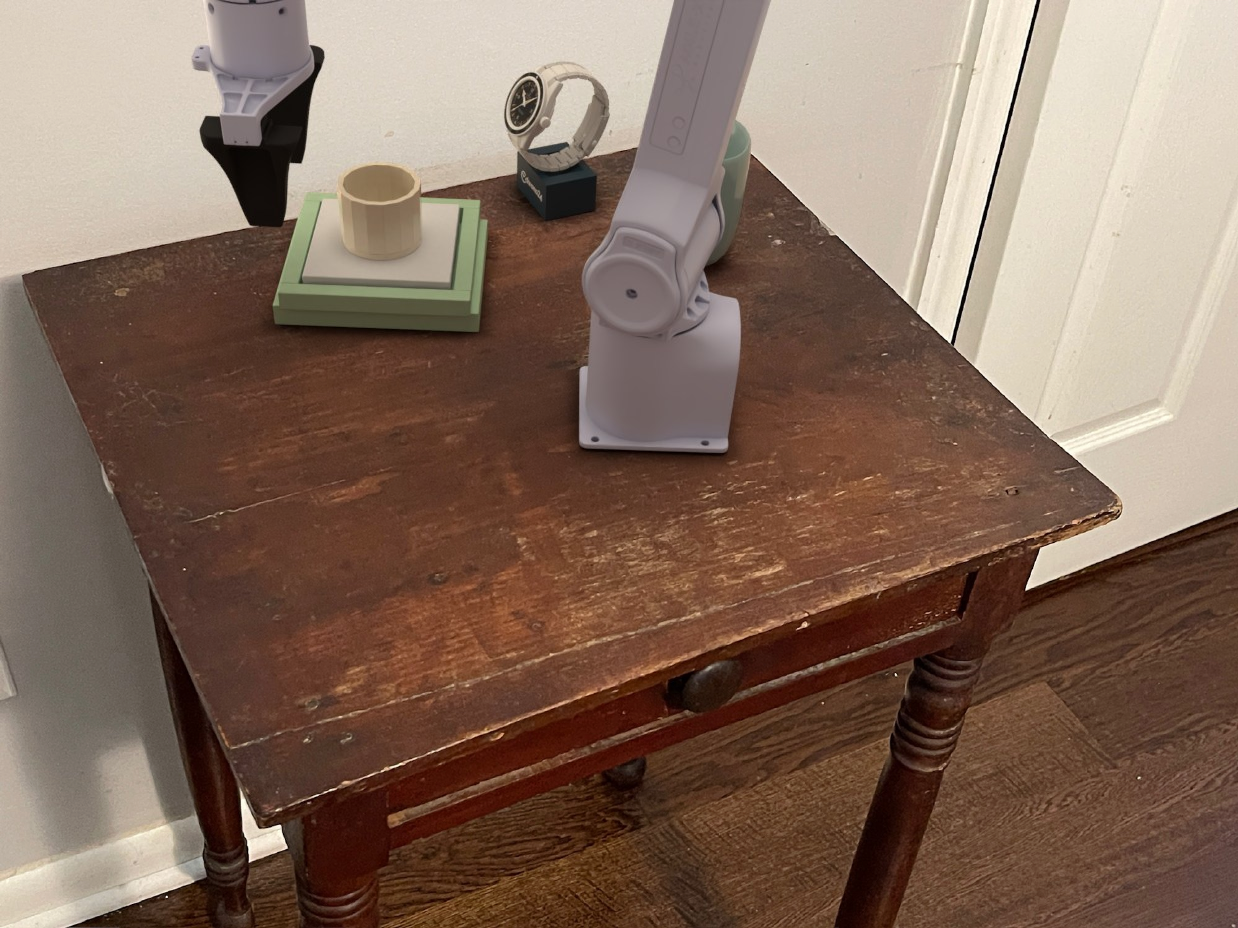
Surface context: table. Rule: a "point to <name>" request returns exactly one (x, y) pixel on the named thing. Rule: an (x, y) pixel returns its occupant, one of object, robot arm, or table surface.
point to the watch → (558, 169)
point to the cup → (733, 186)
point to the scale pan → (415, 270)
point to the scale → (385, 303)
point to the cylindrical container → (380, 210)
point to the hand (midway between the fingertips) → (277, 191)
